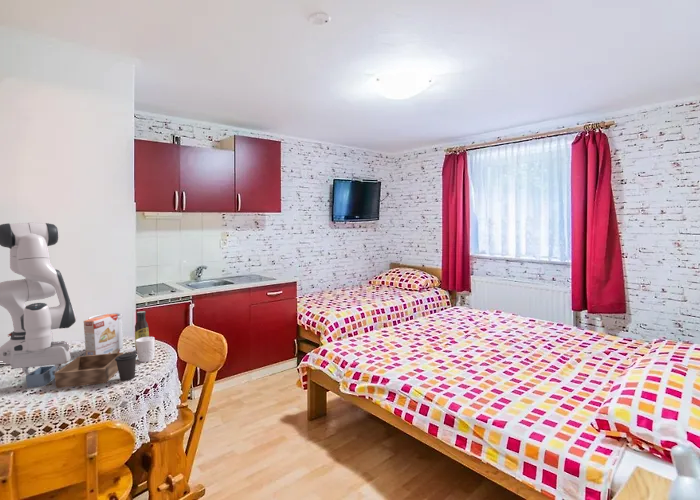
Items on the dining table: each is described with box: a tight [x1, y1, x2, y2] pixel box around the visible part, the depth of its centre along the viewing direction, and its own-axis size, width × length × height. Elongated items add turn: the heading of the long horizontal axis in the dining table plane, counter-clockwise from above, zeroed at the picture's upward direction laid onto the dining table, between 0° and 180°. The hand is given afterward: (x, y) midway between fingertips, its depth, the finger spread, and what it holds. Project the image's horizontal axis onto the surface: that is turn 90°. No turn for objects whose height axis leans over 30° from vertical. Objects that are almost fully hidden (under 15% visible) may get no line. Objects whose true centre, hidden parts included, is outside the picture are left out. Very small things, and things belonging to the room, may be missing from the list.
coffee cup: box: [115, 352, 138, 382], centre depth 160 cm, size 8×8×10 cm
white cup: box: [135, 336, 156, 363], centre depth 182 cm, size 8×8×10 cm
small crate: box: [25, 365, 56, 388], centre depth 159 cm, size 6×10×5 cm, turn 12°
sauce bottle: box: [134, 310, 150, 353], centre depth 195 cm, size 7×6×20 cm
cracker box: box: [83, 313, 121, 356], centre depth 182 cm, size 14×6×21 cm, turn 168°
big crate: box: [54, 352, 124, 389], centre depth 164 cm, size 18×20×6 cm
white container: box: [87, 312, 124, 350], centre depth 199 cm, size 15×15×18 cm
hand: (42, 375), depth 159 cm, fingers open, 8 cm apart
